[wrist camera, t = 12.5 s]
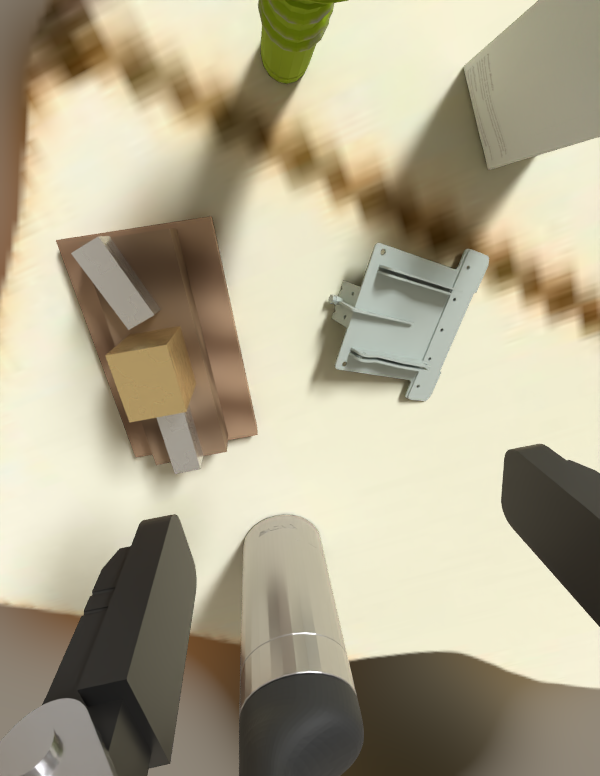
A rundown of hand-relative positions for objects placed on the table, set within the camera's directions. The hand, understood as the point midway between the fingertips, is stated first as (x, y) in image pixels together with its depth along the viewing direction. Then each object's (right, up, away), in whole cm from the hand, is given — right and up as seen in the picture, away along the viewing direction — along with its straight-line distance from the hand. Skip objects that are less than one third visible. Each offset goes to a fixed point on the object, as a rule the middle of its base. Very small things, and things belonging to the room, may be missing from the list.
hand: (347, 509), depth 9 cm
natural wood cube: (-12, +5, +22) cm, 26 cm away
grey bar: (-13, +5, +22) cm, 26 cm away
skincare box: (+15, +26, +22) cm, 38 cm away
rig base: (-13, +7, +26) cm, 30 cm away
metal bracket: (+8, +10, +28) cm, 31 cm away
